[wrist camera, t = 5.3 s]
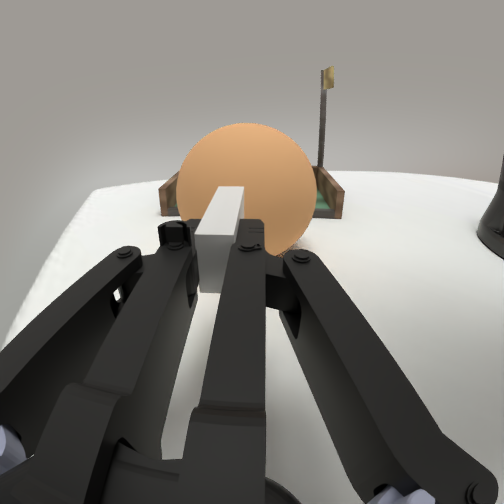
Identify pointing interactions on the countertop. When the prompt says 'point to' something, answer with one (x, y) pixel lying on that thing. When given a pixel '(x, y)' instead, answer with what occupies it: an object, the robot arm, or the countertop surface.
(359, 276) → the countertop surface
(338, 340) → the robot arm
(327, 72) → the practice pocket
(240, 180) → the ball
